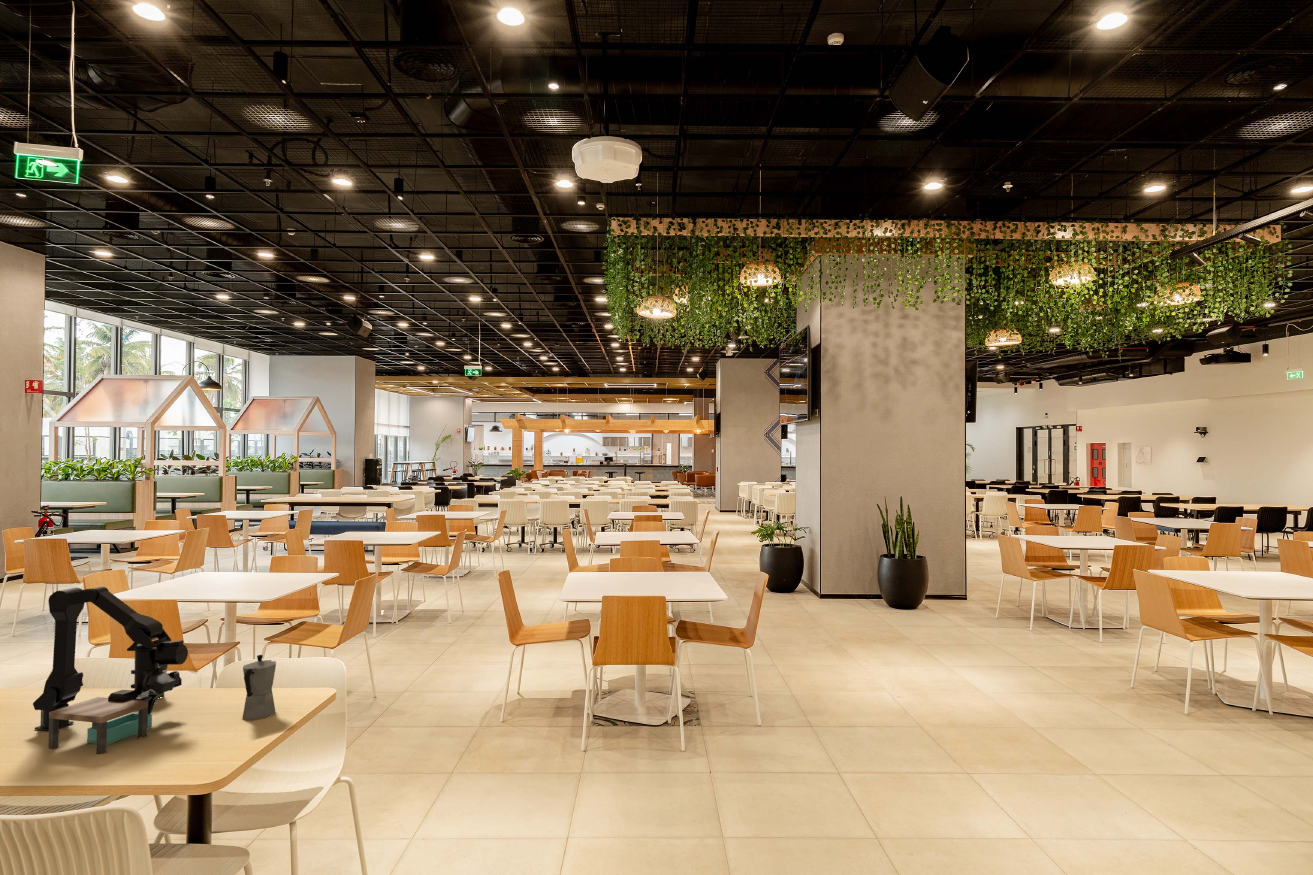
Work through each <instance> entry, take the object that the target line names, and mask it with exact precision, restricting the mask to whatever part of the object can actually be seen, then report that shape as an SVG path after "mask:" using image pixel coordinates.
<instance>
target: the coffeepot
mask: <svg viewBox="0 0 1313 875" xmlns="http://www.w3.org/2000/svg"><path fill="white" fill-rule="evenodd" d="M263 658H264V657H263V654H257V655H256V659H257V661H253V662H250V663H247V664H245V665H243V666H242V671H243V672H242V673H243V680H244V685H245V686H244V687H245V690H246V697H245V701H244V708H243V712H242V713H243V714H242V719H243V720H246V721H257V719H258V720H262V719H261V718H264V719H267V718H270V717H272V716H274V715H275V714H276V706H275V702H274V701H275V700H274V693H273V685H274V680H275V674H276V673H275V672H276V666H277V661H275V660H272V659H268V660H267V659H265V660H263ZM273 714H274V715H273ZM271 715H272V716H271ZM269 716H270V717H269ZM266 717H267V718H266Z"/></svg>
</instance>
